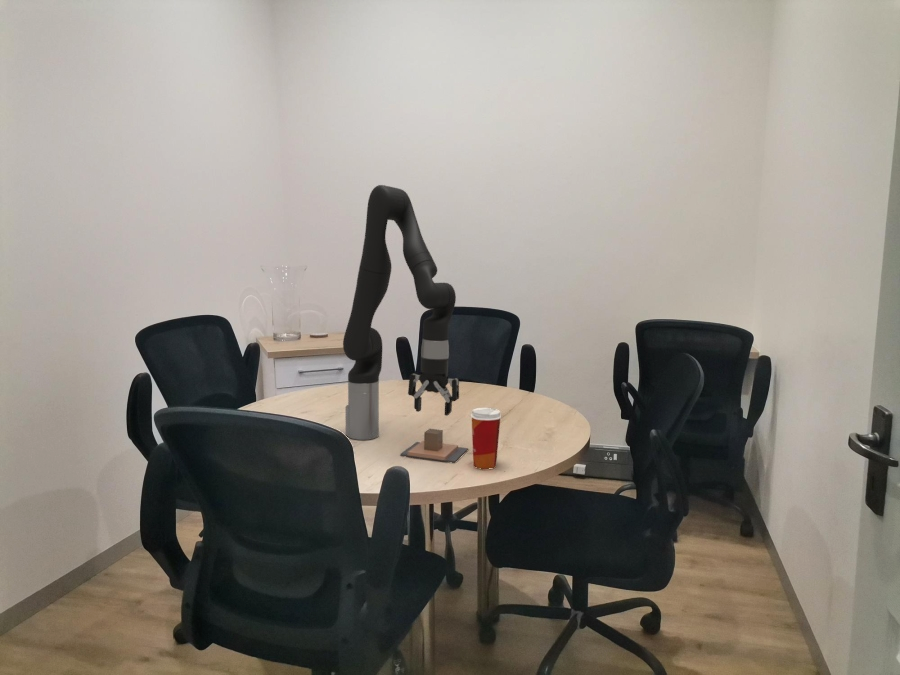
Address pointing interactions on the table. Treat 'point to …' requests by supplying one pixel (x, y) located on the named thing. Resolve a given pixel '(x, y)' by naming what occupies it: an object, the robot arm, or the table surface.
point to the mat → (452, 458)
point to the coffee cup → (485, 437)
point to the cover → (433, 446)
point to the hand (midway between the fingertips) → (432, 412)
